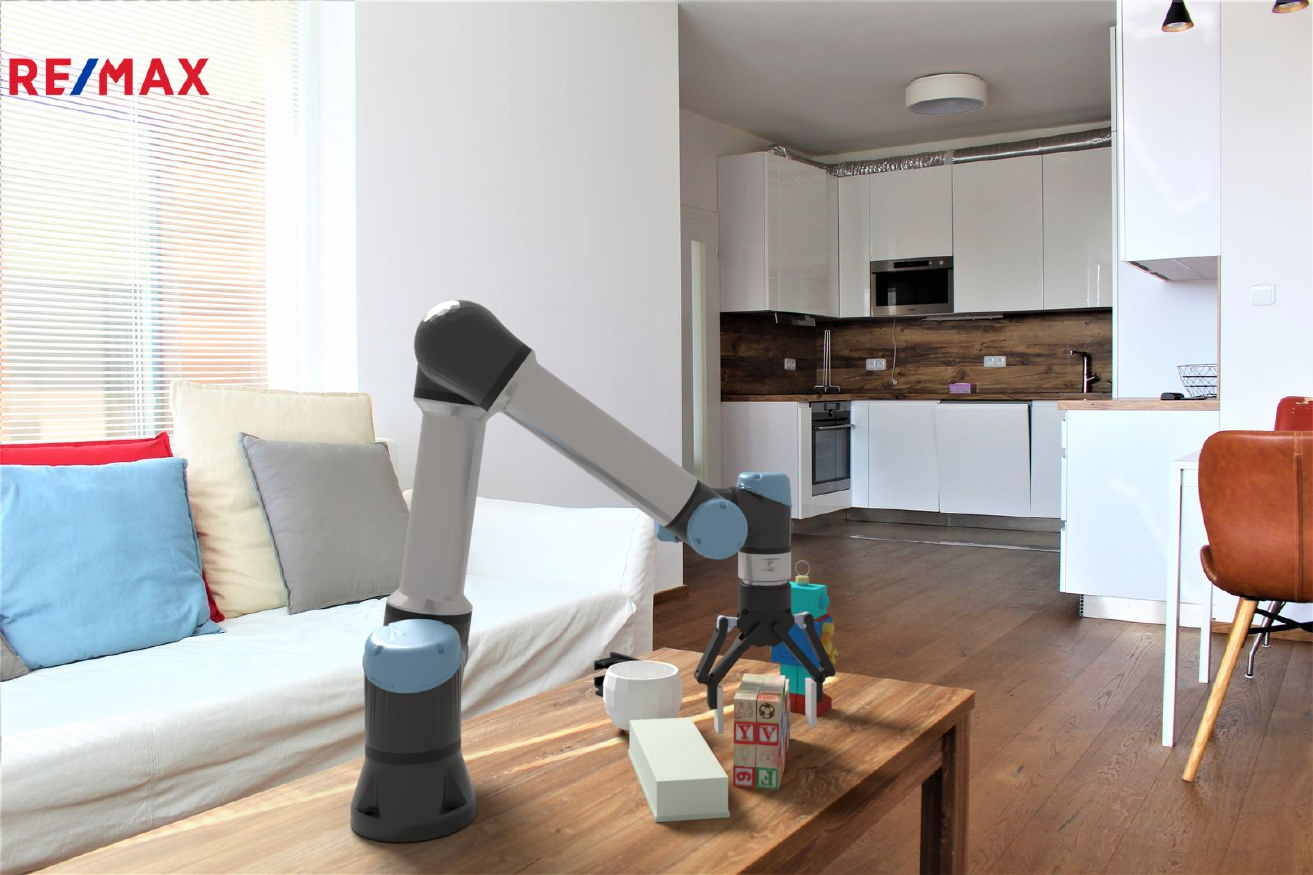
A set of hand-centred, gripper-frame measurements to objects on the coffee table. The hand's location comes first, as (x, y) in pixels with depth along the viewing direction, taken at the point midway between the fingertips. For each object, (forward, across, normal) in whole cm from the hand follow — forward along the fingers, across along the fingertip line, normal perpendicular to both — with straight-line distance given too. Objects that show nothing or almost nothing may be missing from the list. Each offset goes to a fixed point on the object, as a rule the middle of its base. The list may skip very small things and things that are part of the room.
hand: (765, 728), depth 147 cm
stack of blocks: (+5, 0, 0) cm, 5 cm away
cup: (+5, -15, +16) cm, 23 cm away
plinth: (+5, -14, -6) cm, 16 cm away
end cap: (+5, -15, +35) cm, 39 cm away
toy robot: (+5, +13, +23) cm, 27 cm away
